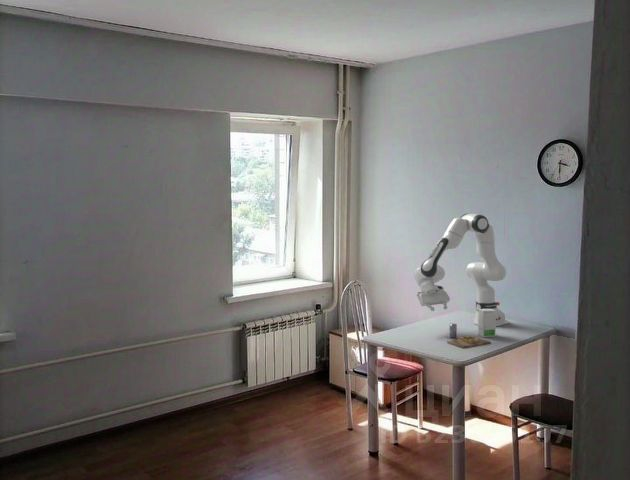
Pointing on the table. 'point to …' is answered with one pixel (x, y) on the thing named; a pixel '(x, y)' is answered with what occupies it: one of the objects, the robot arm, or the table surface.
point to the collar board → (468, 342)
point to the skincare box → (487, 323)
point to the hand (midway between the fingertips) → (439, 309)
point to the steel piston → (453, 331)
